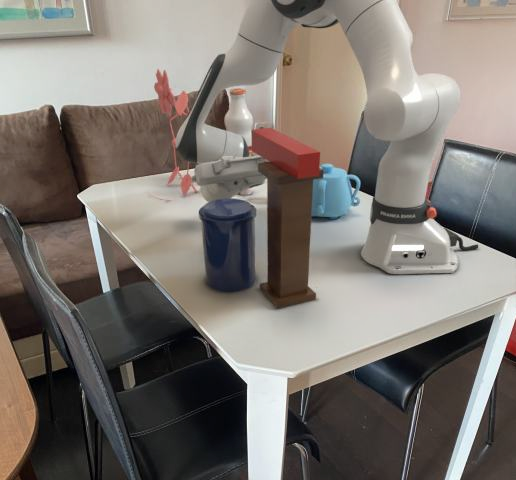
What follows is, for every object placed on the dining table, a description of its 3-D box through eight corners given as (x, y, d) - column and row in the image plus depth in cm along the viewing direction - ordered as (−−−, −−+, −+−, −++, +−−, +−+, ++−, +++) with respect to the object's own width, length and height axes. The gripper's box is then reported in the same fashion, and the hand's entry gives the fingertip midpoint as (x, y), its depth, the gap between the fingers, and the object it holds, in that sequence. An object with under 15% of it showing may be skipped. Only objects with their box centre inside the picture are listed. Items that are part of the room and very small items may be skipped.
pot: (261, 269, 118) (260, 198, 108) (252, 295, 108) (250, 219, 98) (211, 266, 119) (206, 195, 109) (198, 290, 110) (191, 216, 100)
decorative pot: (335, 199, 155) (338, 154, 147) (363, 217, 143) (368, 168, 135) (287, 207, 150) (288, 160, 142) (312, 226, 138) (314, 176, 130)
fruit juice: (232, 175, 176) (228, 86, 159) (257, 177, 173) (256, 87, 157) (223, 184, 168) (218, 91, 152) (250, 186, 166) (247, 92, 150)
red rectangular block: (251, 150, 101) (251, 129, 99) (270, 148, 103) (270, 127, 100) (297, 178, 86) (298, 154, 84) (319, 175, 88) (320, 151, 85)
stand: (259, 289, 110) (257, 163, 94) (296, 281, 113) (300, 157, 97) (277, 309, 103) (278, 176, 87) (315, 299, 106) (323, 169, 90)
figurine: (179, 177, 175) (167, 62, 154) (209, 199, 156) (200, 72, 136) (136, 184, 169) (118, 66, 148) (162, 208, 150) (146, 77, 130)
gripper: (185, 168, 119) (198, 150, 106) (264, 157, 125) (285, 139, 112) (191, 195, 120) (205, 180, 107) (269, 183, 126) (291, 167, 113)
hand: (247, 159), depth 110 cm, fingers open, 8 cm apart
